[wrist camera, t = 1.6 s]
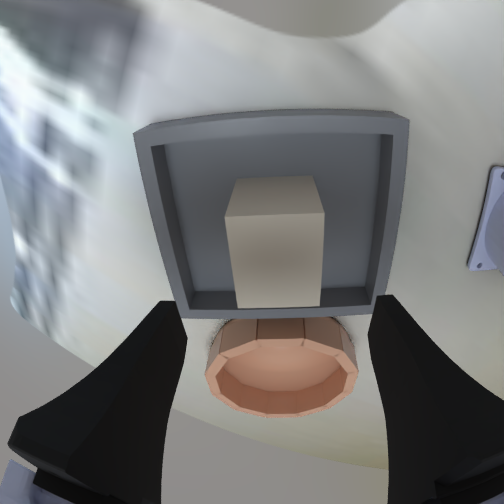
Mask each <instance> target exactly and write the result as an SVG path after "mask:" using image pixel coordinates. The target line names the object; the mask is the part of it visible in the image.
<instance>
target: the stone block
mask: <svg viewBox="0 0 504 504" xmlns="http://www.w3.org/2000/svg"><path fill="white" fill-rule="evenodd" d="M324 216H325V213H324V210H323V206H322V203H321V200H320V197H319V194H318V191H317V188H316V185H315V182H314V179H313V176H281V177H259V178H241V179H237V180H236V183H235V186H234V189H233V192H232V195H231V198H230V201H229V204H228V208H227V211H226V214H225V224H226V231H227V238H228V245H229V252H230V259H231V266H232V272H233V279H234V286H235V292H236V299H237V305H238V308H282V307H312V306H320V294H321V279H322V262H323V242H324Z"/></svg>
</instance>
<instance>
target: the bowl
mask: <svg viewBox="0 0 504 504" xmlns="http://www.w3.org/2000/svg"><path fill="white" fill-rule="evenodd" d="M357 375H358V366H357V361H356V355H355V350H354V346H353V344H352V343H351V341H350V339H349V336H348V334H347V332H346V330H345V329H344V328H343V327H342V325H340V324H339V323H338V322H337V321H336V320H334V319H333V318H331V317H306V318H272V319H232V320H231V321H229V322H228V323H226V324H225V325H224V326H223V327H222V328H221V329H220V331H219V332H218V333H217V335H216V337H215V340H214V343H213V345H212V347H211V348H210V351H209V356H208V361H207V365H206V370H205V377H206V380H207V382H208V385H209V388H210V391H211V393H212V395H213V396H215V397H216V398H218V399H219V400H221V401H222V402H224V403H225V404H227V405H228V406H230V407H231V408H233V409H235V410H237V411H241V412H245V413H249V414H253V415H257V416H261V417H266V418H283V417H301V416H305V415H309V414H312V413H316V412H319V411H322V410H326V409H329V408H331V407H332V406H334V405H335V404H337V403H338V402H339V401H341V400H342V399H343V398H345V397H346V396H347V395H349V394H350V393H351V392H352V391H353V388H354V385H355V381H356V378H357Z"/></svg>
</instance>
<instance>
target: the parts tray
mask: <svg viewBox="0 0 504 504" xmlns="http://www.w3.org/2000/svg"><path fill="white" fill-rule="evenodd" d="M408 135H409V119H407V118H405V117H402V116H400V115H398V114H396V113H393V112H386V111H371V110H349V109H288V110H265V111H250V112H237V113H226V114H217V115H208V116H199V117H192V118H185V119H178V120H171V121H165V122H159V123H153V124H150V125H148V126H146V127H144V128H142V129H140V130H138V131H136V132H134V133H133V137H134V142H135V147H136V152H137V157H138V162H139V166H140V171H141V176H142V180H143V185H144V189H145V193H146V197H147V202H148V206H149V210H150V214H151V218H152V222H153V226H154V230H155V233H156V237H157V241H158V245H159V248H160V252H161V256H162V259H163V263H164V266H165V270H166V273H167V276H168V280H169V283H170V286H171V290H172V293H173V296H174V299H175V301H176V304H177V308H178V311H179V314H180V317H181V318H192V319H272V318H306V317H329V316H347V315H363V314H373V310H374V306H375V302H376V297H377V296H378V295H385V292H386V288H387V283H388V279H389V274H390V269H391V264H392V259H393V254H394V249H395V243H396V238H397V232H398V226H399V219H400V213H401V206H402V198H403V190H404V182H405V172H406V162H407V150H408ZM281 176H313V179H314V182H315V185H316V188H317V191H318V194H319V197H320V200H321V203H322V206H323V210H324V213H325V216H324V242H323V262H322V279H321V294H320V306H312V307H282V308H238V305H237V299H236V292H235V286H234V279H233V272H232V266H231V259H230V252H229V245H228V238H227V231H226V224H225V214H226V211H227V208H228V204H229V201H230V198H231V195H232V192H233V189H234V186H235V183H236V180H237V179H241V178H259V177H281Z"/></svg>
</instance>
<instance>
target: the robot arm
mask: <svg viewBox="0 0 504 504" xmlns="http://www.w3.org/2000/svg"><path fill="white" fill-rule="evenodd" d="M502 173H503V175H502V177H501V174H502ZM467 266H468V268H469V270H470V271H479V270H491V269H499V270H500V272H501V273H502V274H503V276H504V167H499V166H495V167H493V169H492V170H491V174H490V179H489V184H488V189H487V194H486V199H485V203H484V208H483V212H482V216H481V220H480V224H479V228H478V231H477V235H476V238H475V242H474V245H473V249H472V252H471V255H470V258H469V261H468V265H467ZM187 339H188V338H187V335H186V332H185V329H184V326H183V323H182V320H181V317H180V314H179V311H178V308H177V304H176V301H159V303H158V304H157V305H156V306H155V307H154V308H153V309H152V310H151V311H150V312H149V314H148V315H147V316H146V317H145V318H144V319H143V320H142V321H141V323H140V324H139V325H138V326H137V327H136V328H135V329H134V330H133V332H132V333H131V334H130V335H129V336H128V337H127V338H126V339H125V340H124V341H123V342H122V343H121V344H120V345H119V346H118V347H117V349H116V350H115V351H114V352H113V353H112V354H111V355H110V356H109V357H108V358H107V359H106V360H104V361H103V362H102V363H101V364H100V365H99V366H98V367H97V368H96V369H94V370H93V371H92V372H91V373H90V374H89V375H87V376H86V377H85V378H84V379H82V380H81V381H80V382H78V383H77V384H75V385H74V386H73V387H71V388H70V389H69V390H67V391H66V392H64V393H63V394H61V395H60V396H58V397H57V398H55V399H53V400H52V401H50V402H48V403H47V404H45V405H43V406H41V407H39V408H38V409H35V410H33V411H31V412H29V413H27V414H25V415H23V416H20V417H19V418H18V420H17V423H16V425H15V427H14V430H13V432H12V434H11V436H10V439H9V441H8V446H9V448H10V449H12V450H13V451H14V452H15V453H17V454H18V455H19V456H21V457H22V458H24V459H25V460H27V461H28V462H30V463H31V464H33V465H34V466H36V467H37V468H38V469H37V472H36V473H35V472H33V471H31V470H30V469H28V468H26V467H24V466H22V465H20V464H18V463H17V462H15V461H13V460H12V459H11V460H9V463H8V466H7V469H6V471H5V474H4V477H3V480H2V483H1V486H0V504H161V478H162V463H163V453H164V444H165V436H166V430H167V423H168V418H169V413H170V409H171V406H172V402H173V399H174V395H175V392H176V388H177V385H178V382H179V378H180V374H181V371H182V367H183V364H184V359H185V353H186V346H187ZM368 341H369V348H370V355H371V360H372V364H373V368H374V372H375V376H376V380H377V384H378V388H379V392H380V396H381V400H382V404H383V408H384V414H385V420H386V429H387V440H388V459H389V486H388V503H387V504H504V400H502V399H501V398H499V397H498V396H496V395H494V394H493V393H492V392H490V391H489V390H487V389H486V388H485V387H483V386H482V385H481V384H479V383H478V382H477V381H475V380H474V379H473V378H472V377H470V376H469V375H468V374H467V373H466V372H464V371H463V370H462V369H461V368H460V367H459V366H458V365H457V364H455V363H454V362H453V361H452V360H451V359H450V358H449V357H448V356H447V355H446V354H445V353H444V352H443V351H442V350H441V349H440V348H439V347H438V346H437V345H436V344H435V343H434V342H433V340H432V339H431V338H430V337H429V336H428V335H427V334H426V333H425V332H424V330H423V329H422V328H421V327H420V326H419V325H418V324H417V322H416V321H415V320H414V319H413V318H412V317H411V315H410V314H409V313H408V312H407V311H406V310H405V308H404V307H403V306H402V305H401V304H400V302H399V301H398V300H397V299H396V298H395V297H394V296H393V295H378V296H377V297H376V302H375V306H374V310H373V315H372V319H371V323H370V327H369V331H368Z"/></svg>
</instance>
